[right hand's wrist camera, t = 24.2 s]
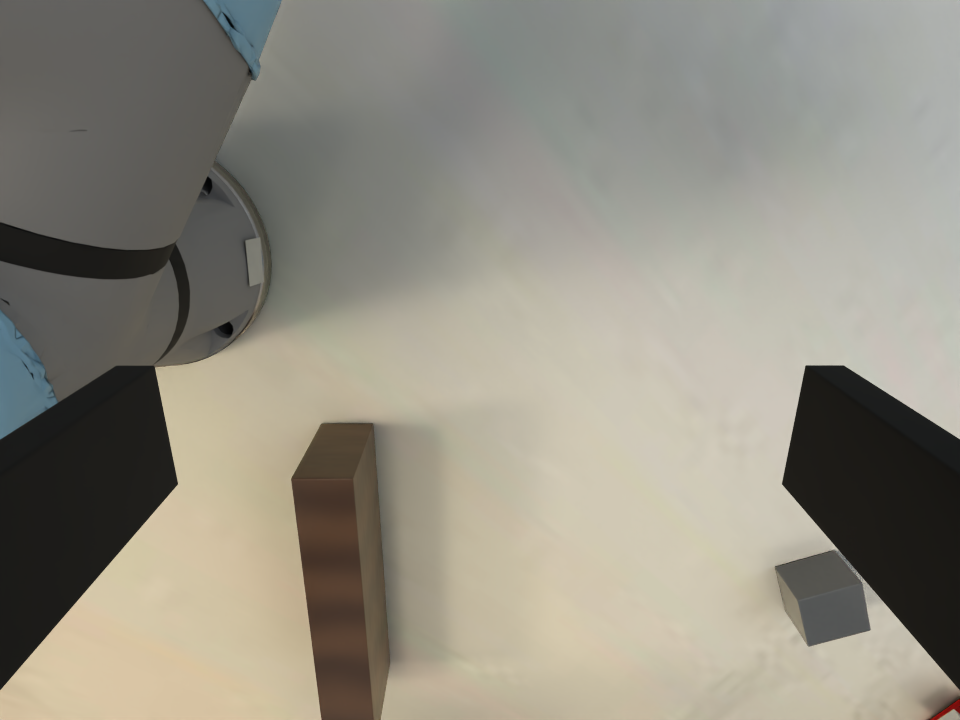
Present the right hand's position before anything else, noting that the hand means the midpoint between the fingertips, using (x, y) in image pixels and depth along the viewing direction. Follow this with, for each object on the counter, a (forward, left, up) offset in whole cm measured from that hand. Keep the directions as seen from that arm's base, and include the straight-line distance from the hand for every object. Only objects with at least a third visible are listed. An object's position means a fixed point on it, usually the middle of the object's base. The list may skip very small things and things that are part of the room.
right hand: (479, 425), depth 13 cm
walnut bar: (-10, -27, -31) cm, 42 cm away
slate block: (+28, -30, -31) cm, 51 cm away
